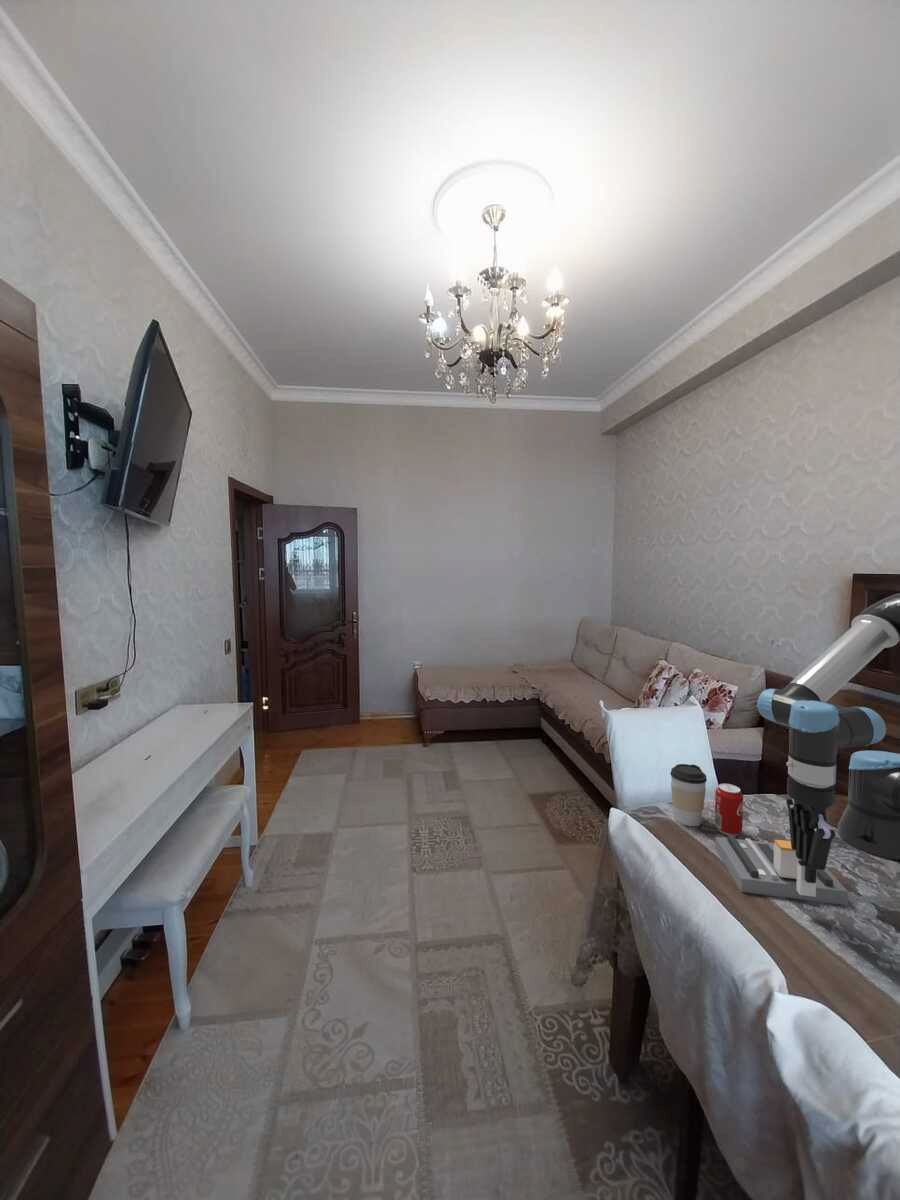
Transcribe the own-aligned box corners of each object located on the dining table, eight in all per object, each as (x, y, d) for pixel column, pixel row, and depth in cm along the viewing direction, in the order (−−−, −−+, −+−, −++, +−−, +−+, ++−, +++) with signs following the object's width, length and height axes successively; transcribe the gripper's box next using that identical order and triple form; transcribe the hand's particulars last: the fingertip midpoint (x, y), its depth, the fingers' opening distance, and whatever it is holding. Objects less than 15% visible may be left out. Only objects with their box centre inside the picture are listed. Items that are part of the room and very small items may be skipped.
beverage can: (746, 839, 119) (747, 794, 119) (719, 836, 121) (720, 792, 120) (736, 826, 126) (737, 783, 125) (710, 823, 127) (712, 781, 126)
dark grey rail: (733, 852, 114) (734, 835, 114) (759, 891, 100) (759, 871, 100) (725, 851, 114) (726, 834, 114) (749, 890, 101) (750, 870, 100)
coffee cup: (689, 831, 123) (691, 777, 122) (662, 815, 131) (663, 764, 130) (713, 824, 127) (714, 771, 126) (684, 808, 135) (686, 758, 134)
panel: (805, 858, 111) (806, 842, 111) (847, 905, 96) (848, 886, 96) (715, 848, 116) (715, 833, 115) (740, 891, 100) (741, 874, 100)
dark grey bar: (798, 859, 111) (799, 842, 111) (833, 900, 97) (834, 880, 97) (789, 858, 111) (790, 841, 111) (823, 899, 98) (824, 879, 97)
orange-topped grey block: (793, 870, 102) (794, 841, 101) (800, 879, 99) (802, 849, 98) (773, 868, 103) (774, 839, 102) (779, 876, 100) (781, 847, 99)
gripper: (773, 765, 99) (769, 870, 100) (807, 793, 86) (802, 914, 88) (813, 767, 97) (809, 874, 99) (853, 797, 85) (847, 920, 86)
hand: (805, 893), depth 93 cm, fingers closed
